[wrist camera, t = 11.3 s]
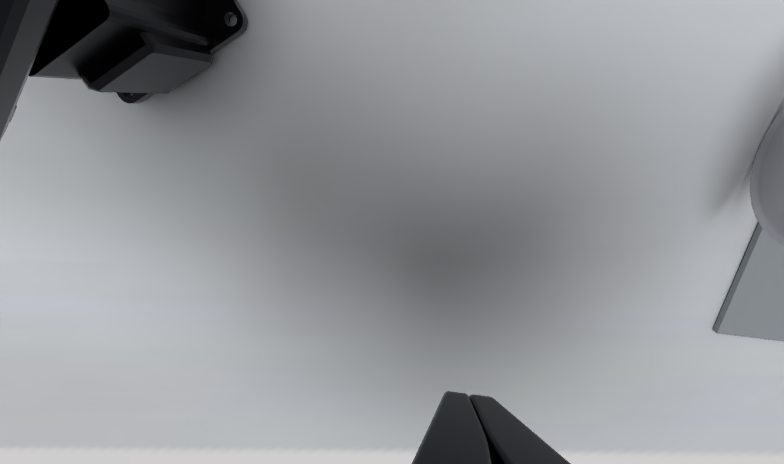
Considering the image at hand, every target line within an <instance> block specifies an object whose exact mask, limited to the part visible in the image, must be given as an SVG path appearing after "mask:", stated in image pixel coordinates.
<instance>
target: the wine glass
mask: <svg viewBox="0 0 784 464" xmlns="http://www.w3.org/2000/svg"><path fill="white" fill-rule="evenodd" d="M750 197H751V205H752V208H753V211H754V214H755V217H756V218H757V220H758V222H759V224H760V225H761V227H762V228H763V230H764V231H765V232H766V233H767V234H768V235H769V236H770V237H771V238H772V239H774V240H775V241H777V242H778V243H779V244H781V245H782V246H784V108H783V109H782V111H781V112H780V113H779V114H778V116H777V117H776V118H775V120H774V121H773V123H772V124H771V126H770V128H769V129H768V131H767V132H766V134H765V136H764V138H763V140H762V142H761V144H760V146H759V148H758V151H757V154H756V157H755V160H754V163H753V168H752V173H751V178H750Z"/></svg>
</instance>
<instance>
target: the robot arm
mask: <svg viewBox="0 0 784 464" xmlns="http://www.w3.org/2000/svg"><path fill="white" fill-rule="evenodd" d="M233 14H235V15H236V17H237V23H236V24H235V26H231V25H230V23H229V17H230V16H231V15H233ZM246 27H247V18H246V16H245V14H244V12H243V10H242V8H241V7H240V5H239V3H238V2H237V0H0V140H1V138H2V136H3V135H4V133H5V131H6V128H7V126H8V124H9V122H10V121H11V120H12V117H13V115H14V112H15V110H16V107H17V106H16V104H17V102H18V99H19V97H20V94H21V92H22V89H23V87H24V85H25V82H26V80H27V77H28V76H32V77H49V78H66V79H82V81H83V82H84V83H85V85H86V86H87V87H88V89H91V90H95V91H98V92H116V93H117V94H118V96H119V97H120V98H121V99H122V100H123V101H124V102H126V103H140V102H142V101H144V100H145V99H147V98H148V97H150V96H151V95H153V94H154V93H169V92H170V91H172V90H173V89H175V88H176V87H178V86H179V85H180V84H182V83H183V82H185V81H186V80H188V79H189V78H191V77H192V76H194V75H195V74H197V73H198V72H200V71H201V70H203V69H204V68H206V67H207V66H208V65H210V64H211V63H212V58H213V55H212V53H214V52H215V51H217V50H218V49H220V48H221V47H223V46H224V45H226V44H227V43H228V42H230V41H231V40H233V39H234V38H236V37H237V36H239V35H240V34H242V33H243V32H244V31H245V30H246ZM130 93H134V95H133V96H131V95H130ZM412 464H570V463H569V462H568V461H567V460H565V459H564V458H563V457H562V456H561V455H560V454H558V453H557V452H556V451H555V450H554V449H552V448H551V447H550V446H549V445H548V444H547V443H545V442H544V441H543V440H542V439H541V438H540V437H538V436H537V435H536V434H535V433H534V432H532V431H531V430H530V429H529V428H528V427H527V426H525V425H524V424H523V423H522V422H521V421H519V420H518V419H517V418H516V417H515V416H514V415H512V414H511V413H510V412H509V411H508V410H507V409H505V408H504V407H503V406H502V405H501V404H499V403H498V402H497V401H496V400H495V399H493V398H492V397H488V396H481V395H470V396H468V395H467V394H465V393H457V392H450V391H447V392H445V394H444V396H443V398H442V400H441V402H440V404H439V406H438V408H437V411H436V413H435V415H434V417H433V419H432V421H431V424H430V426H429V428H428V430H427V432H426V434H425V436H424V439H423V441H422V443H421V445H420V447H419V449H418V451H417V454H416V456H415V458H414V460H413V462H412Z"/></svg>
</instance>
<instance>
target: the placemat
mask: <svg viewBox="0 0 784 464" xmlns="http://www.w3.org/2000/svg"><path fill="white" fill-rule="evenodd" d="M713 330H714V331H715V332H716V333H719V334H727V335H735V336H743V337H752V338H760V339H768V340H776V341H784V246H782V245H781V244H779V243H778V242H777V241H775V240H774V239H772V238H771V237H770V236H769V235H768V234H767V233H766V232H765V231H764V230H763V228H762V227H761V225H760V224H759V223H758V225H757V228H756V230H755V232H754V235H753V237H752V239H751V242H750V244H749V246H748V249H747V251H746V253H745V256H744V258H743V260H742V263H741V265H740V267H739V270H738V272H737V274H736V277H735V279H734V281H733V284H732V286H731V288H730V291H729V293H728V295H727V298H726V300H725V302H724V305H723V307H722V309H721V312H720V314H719V316H718V319H717V321H716V323H715V326H714V328H713Z"/></svg>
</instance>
